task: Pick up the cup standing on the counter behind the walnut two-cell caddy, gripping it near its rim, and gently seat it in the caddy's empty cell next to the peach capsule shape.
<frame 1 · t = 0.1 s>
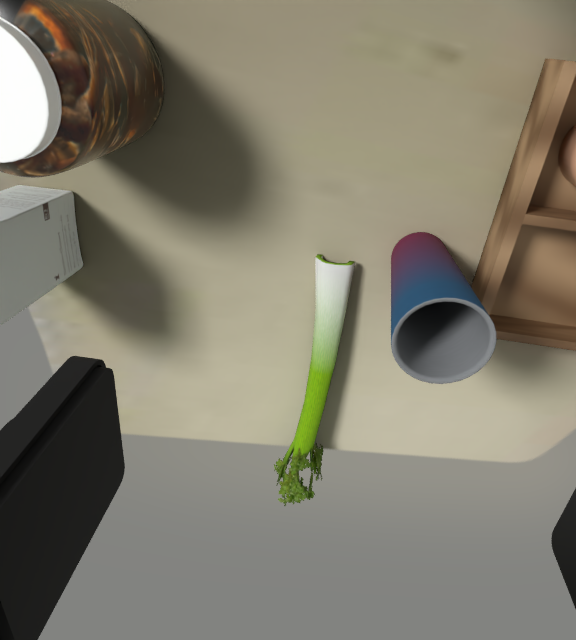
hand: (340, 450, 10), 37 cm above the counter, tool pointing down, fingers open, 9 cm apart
skincare box: (51, 223, 49), on the counter
cup: (418, 256, 46), on the counter
leek: (311, 377, 55), on the counter
jar: (96, 75, 42), on the counter
caddy: (569, 212, 42), on the counter
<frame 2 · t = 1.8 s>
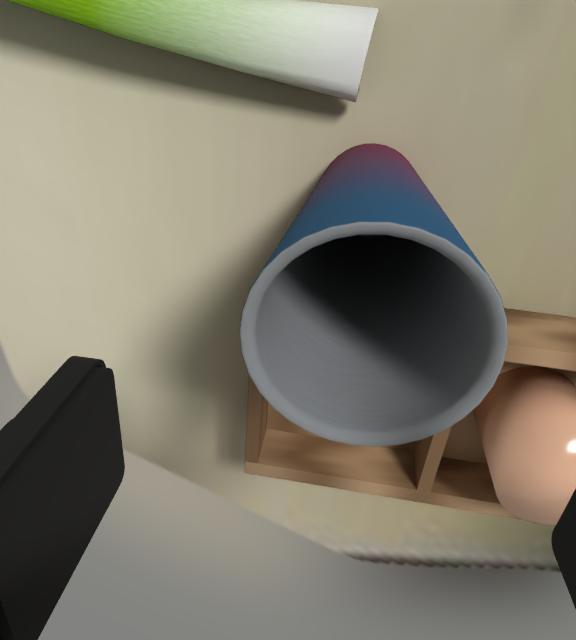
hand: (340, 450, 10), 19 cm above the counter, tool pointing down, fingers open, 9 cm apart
peach capsule shape: (525, 407, 30), point 1 cm above the counter, touching caddy
cup: (368, 192, 26), on the counter
caddy: (434, 386, 31), on the counter
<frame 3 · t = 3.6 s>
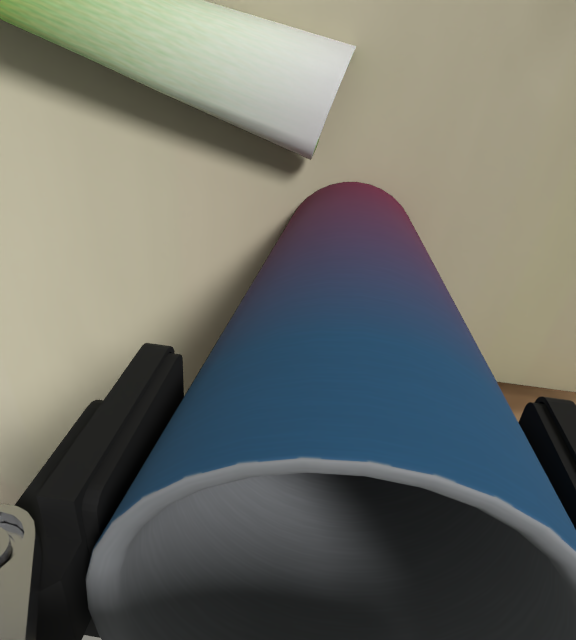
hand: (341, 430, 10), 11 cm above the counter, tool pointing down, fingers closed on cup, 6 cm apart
cup: (348, 243, 20), on the counter, touching gripper
caddy: (435, 473, 25), on the counter
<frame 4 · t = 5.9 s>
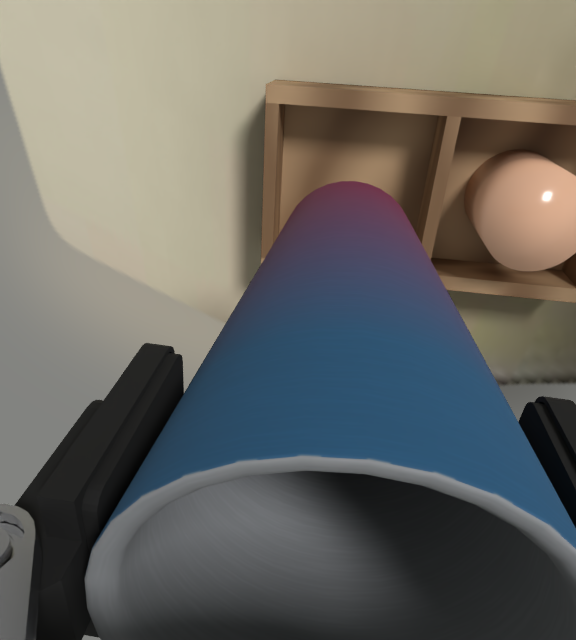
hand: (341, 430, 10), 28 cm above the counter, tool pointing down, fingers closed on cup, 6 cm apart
peach capsule shape: (510, 195, 33), point 1 cm above the counter, touching caddy
cup: (346, 242, 20), point 17 cm above the counter, touching gripper
caddy: (428, 185, 34), on the counter
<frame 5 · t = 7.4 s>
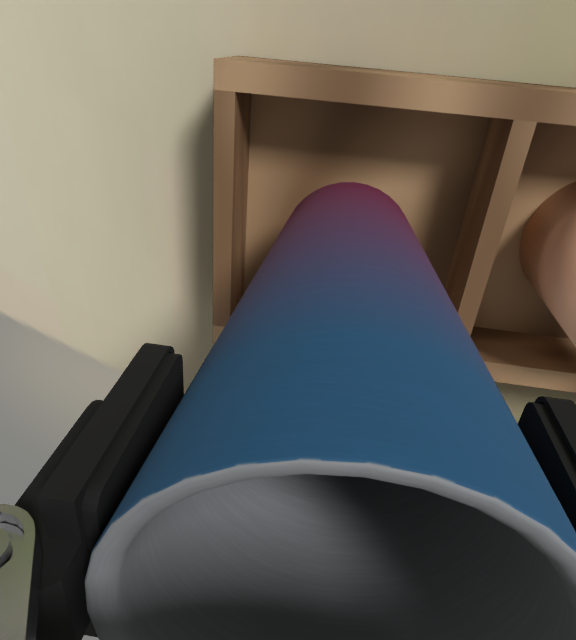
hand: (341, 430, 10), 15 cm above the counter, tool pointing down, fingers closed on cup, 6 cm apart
cup: (346, 243, 20), point 4 cm above the counter, touching gripper
caddy: (466, 222, 23), on the counter
when the fingers open (13 cm above the counter, at t = 8.7 s): cup drops 1 cm, resting on caddy.
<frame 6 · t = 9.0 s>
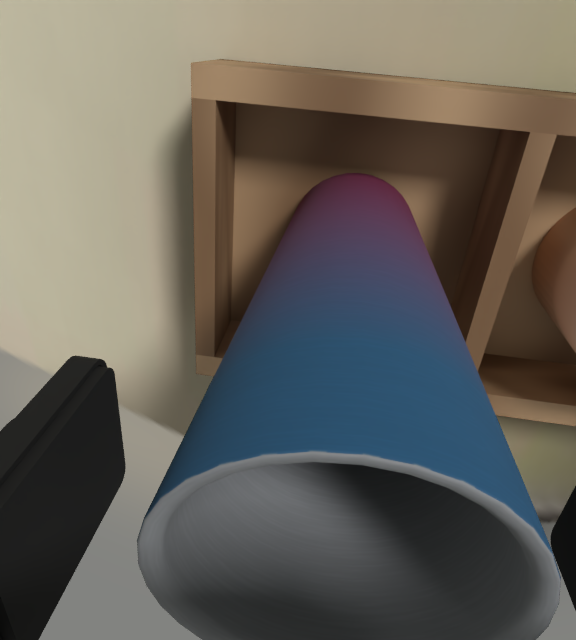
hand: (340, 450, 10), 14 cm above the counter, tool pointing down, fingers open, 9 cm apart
cup: (351, 230, 21), point 1 cm above the counter, touching caddy
caddy: (473, 241, 21), on the counter
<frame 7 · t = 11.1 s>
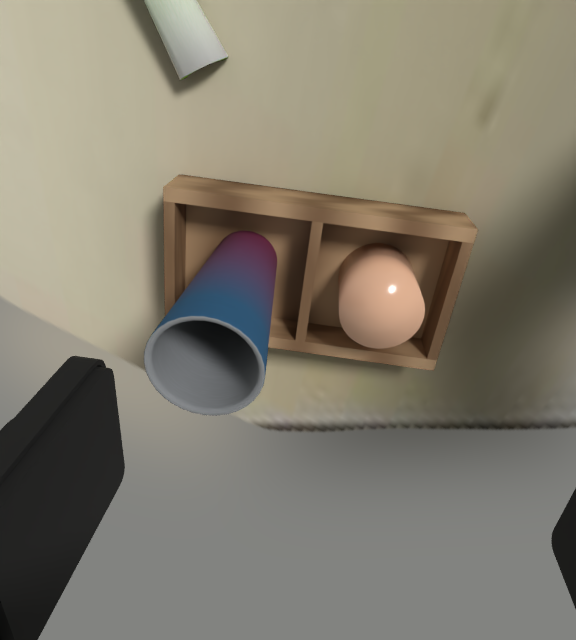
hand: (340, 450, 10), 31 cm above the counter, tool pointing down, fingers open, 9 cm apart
peach capsule shape: (375, 278, 40), point 1 cm above the counter, touching caddy
cup: (247, 258, 40), point 1 cm above the counter, touching caddy
caddy: (310, 265, 41), on the counter
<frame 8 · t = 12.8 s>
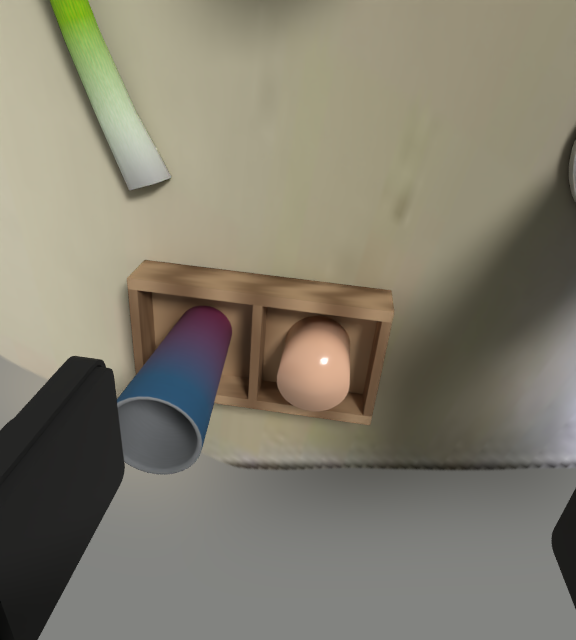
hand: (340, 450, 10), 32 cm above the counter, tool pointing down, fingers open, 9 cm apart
peach capsule shape: (317, 344, 46), point 1 cm above the counter, touching caddy
cup: (206, 327, 46), point 1 cm above the counter, touching caddy
caddy: (262, 332, 47), on the counter
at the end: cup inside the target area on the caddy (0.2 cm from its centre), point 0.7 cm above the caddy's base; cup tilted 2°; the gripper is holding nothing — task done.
